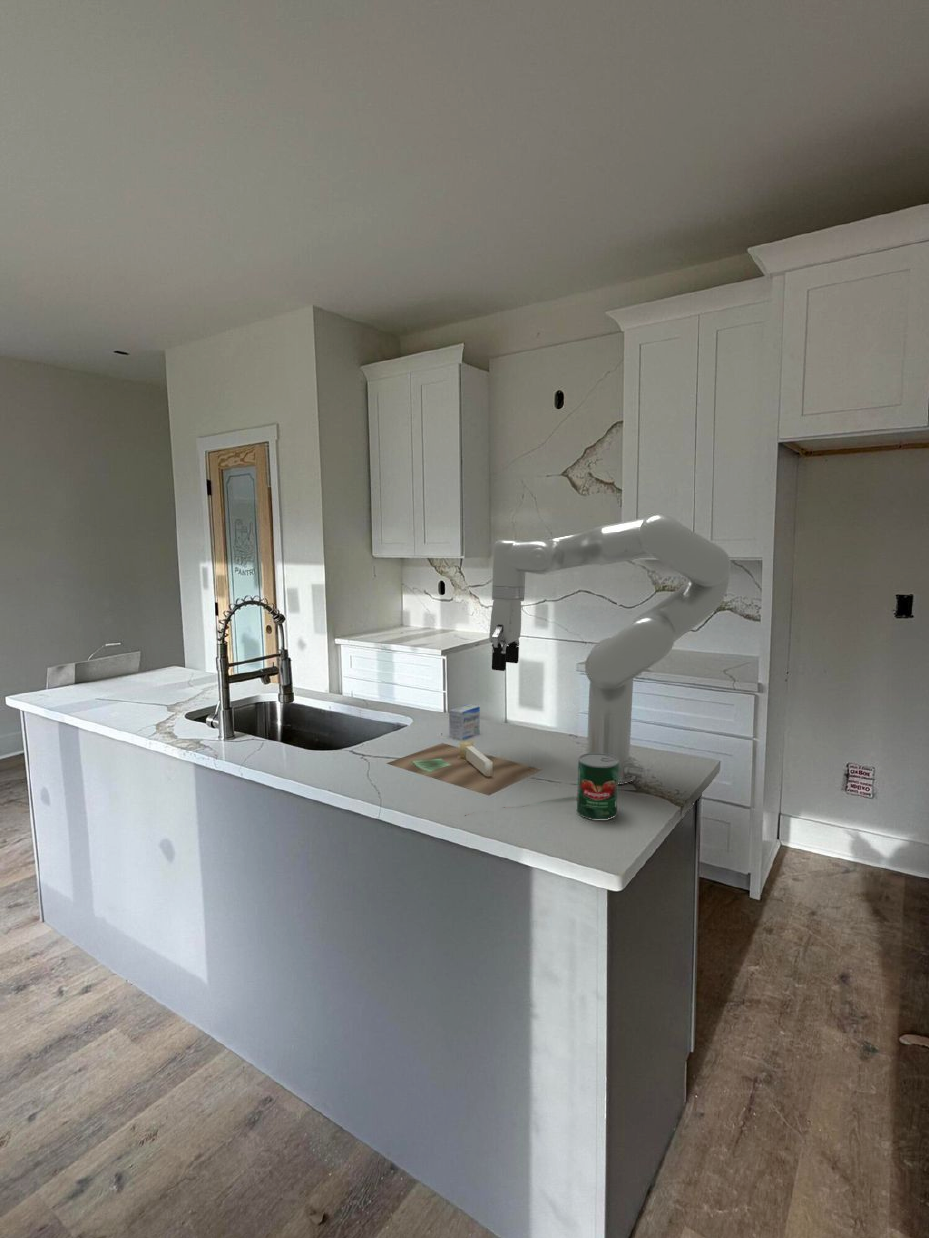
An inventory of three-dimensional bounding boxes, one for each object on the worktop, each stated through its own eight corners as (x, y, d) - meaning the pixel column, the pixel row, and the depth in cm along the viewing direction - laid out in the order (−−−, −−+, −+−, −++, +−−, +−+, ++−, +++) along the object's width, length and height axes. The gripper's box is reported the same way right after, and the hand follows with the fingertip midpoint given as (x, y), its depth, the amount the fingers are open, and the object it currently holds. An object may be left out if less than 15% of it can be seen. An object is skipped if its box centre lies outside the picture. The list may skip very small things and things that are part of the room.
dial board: (541, 774, 158) (541, 768, 157) (488, 800, 142) (489, 794, 142) (442, 747, 176) (442, 742, 176) (386, 768, 161) (386, 762, 161)
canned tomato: (587, 823, 132) (588, 767, 130) (570, 807, 139) (571, 754, 138) (624, 818, 134) (626, 764, 132) (605, 803, 141) (607, 751, 140)
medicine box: (462, 744, 179) (462, 712, 178) (448, 741, 181) (448, 709, 180) (479, 737, 185) (480, 706, 184) (466, 734, 188) (466, 703, 187)
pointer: (458, 755, 166) (458, 741, 165) (470, 753, 167) (470, 740, 166) (483, 777, 151) (483, 762, 150) (496, 775, 152) (496, 760, 152)
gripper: (504, 589, 168) (501, 658, 170) (480, 595, 152) (477, 671, 155) (534, 591, 165) (530, 661, 168) (512, 598, 149) (509, 675, 152)
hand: (505, 666), depth 161 cm, fingers open, 9 cm apart
